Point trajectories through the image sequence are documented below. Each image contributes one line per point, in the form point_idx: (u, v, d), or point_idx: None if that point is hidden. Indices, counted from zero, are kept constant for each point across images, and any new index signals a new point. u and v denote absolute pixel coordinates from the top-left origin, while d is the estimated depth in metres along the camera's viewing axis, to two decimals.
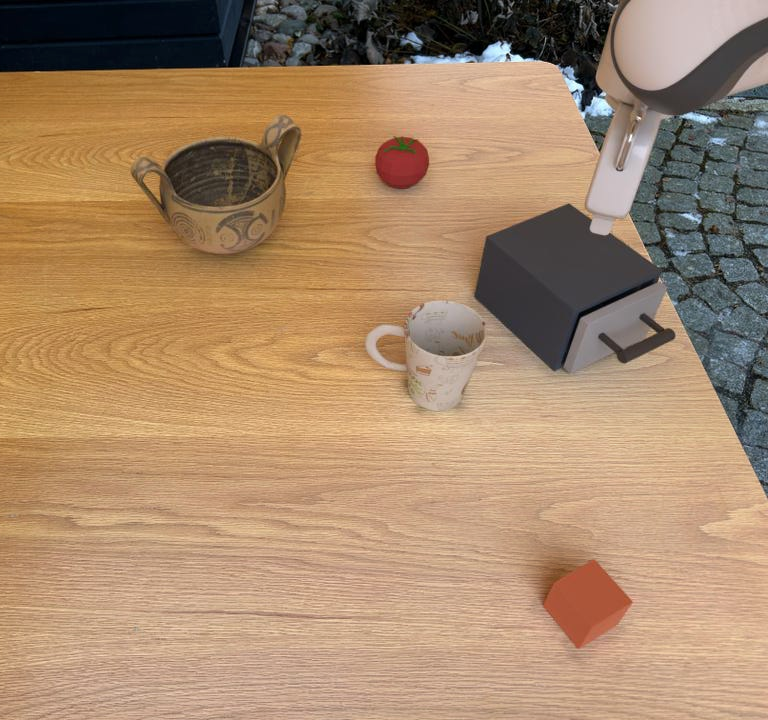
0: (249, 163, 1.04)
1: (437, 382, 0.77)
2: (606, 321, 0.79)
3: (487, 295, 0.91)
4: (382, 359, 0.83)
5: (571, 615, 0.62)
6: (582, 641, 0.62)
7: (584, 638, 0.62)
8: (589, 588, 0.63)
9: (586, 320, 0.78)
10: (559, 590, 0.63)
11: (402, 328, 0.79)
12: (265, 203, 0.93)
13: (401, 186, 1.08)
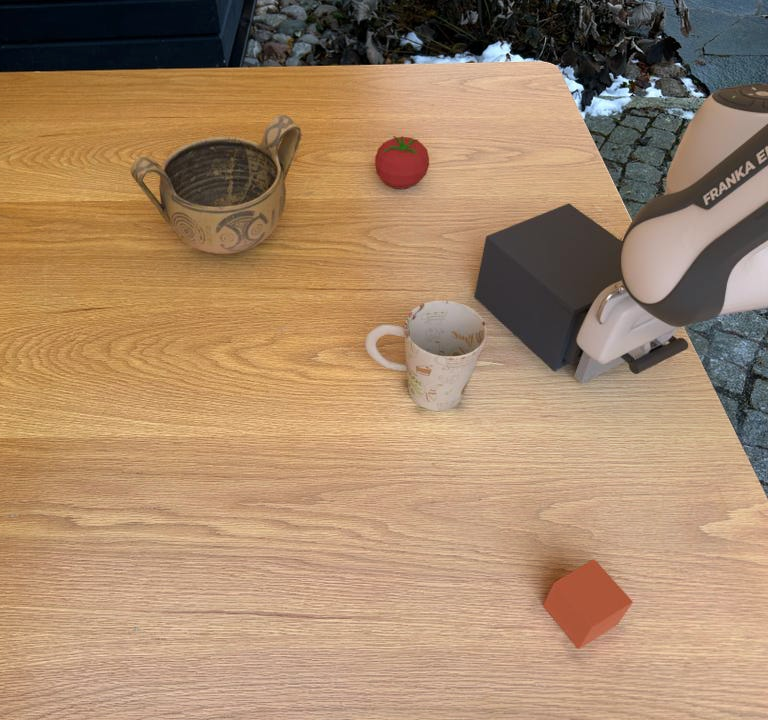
0: (249, 163, 1.04)
1: (437, 382, 0.77)
2: None
3: (487, 295, 0.91)
4: (382, 359, 0.83)
5: (571, 615, 0.62)
6: (582, 641, 0.62)
7: (584, 638, 0.62)
8: (589, 588, 0.63)
9: None
10: (559, 590, 0.63)
11: (402, 328, 0.79)
12: (265, 203, 0.93)
13: (401, 186, 1.08)
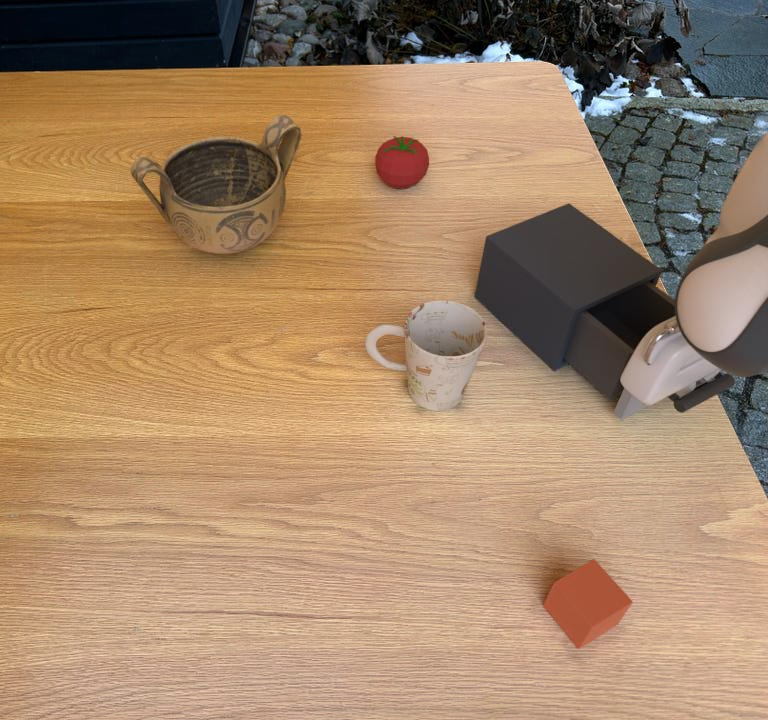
0: (249, 163, 1.04)
1: (437, 382, 0.77)
2: None
3: (487, 295, 0.91)
4: (382, 359, 0.83)
5: (571, 615, 0.62)
6: (582, 641, 0.62)
7: (584, 638, 0.62)
8: (589, 588, 0.63)
9: None
10: (559, 590, 0.63)
11: (402, 328, 0.79)
12: (265, 203, 0.93)
13: (401, 186, 1.08)
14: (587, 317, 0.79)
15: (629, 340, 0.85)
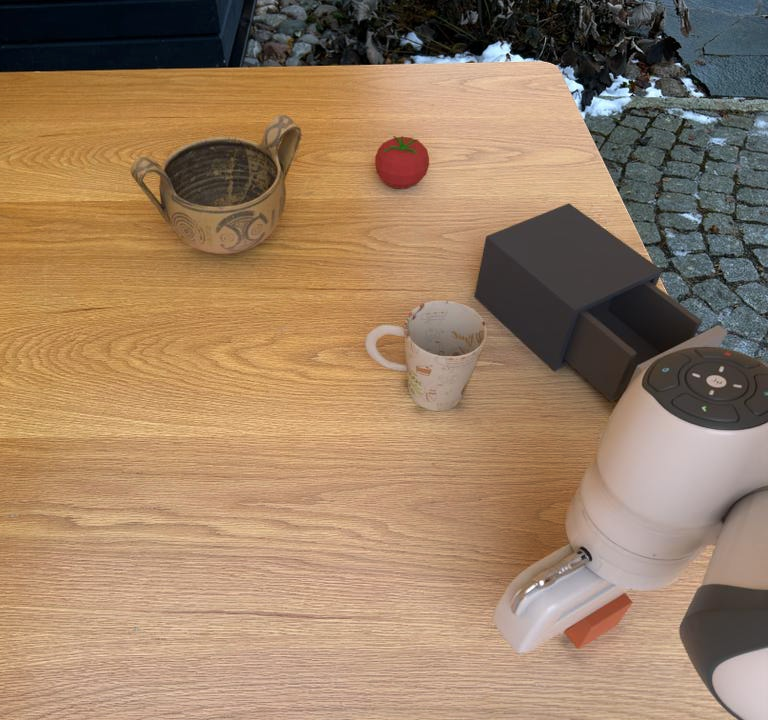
0: (249, 163, 1.04)
1: (437, 382, 0.77)
2: None
3: (487, 295, 0.91)
4: (382, 359, 0.83)
5: None
6: (582, 641, 0.62)
7: (584, 638, 0.62)
8: None
9: (643, 368, 0.73)
10: None
11: (402, 328, 0.79)
12: (265, 203, 0.93)
13: (401, 186, 1.08)
14: (589, 318, 0.79)
15: (631, 341, 0.85)
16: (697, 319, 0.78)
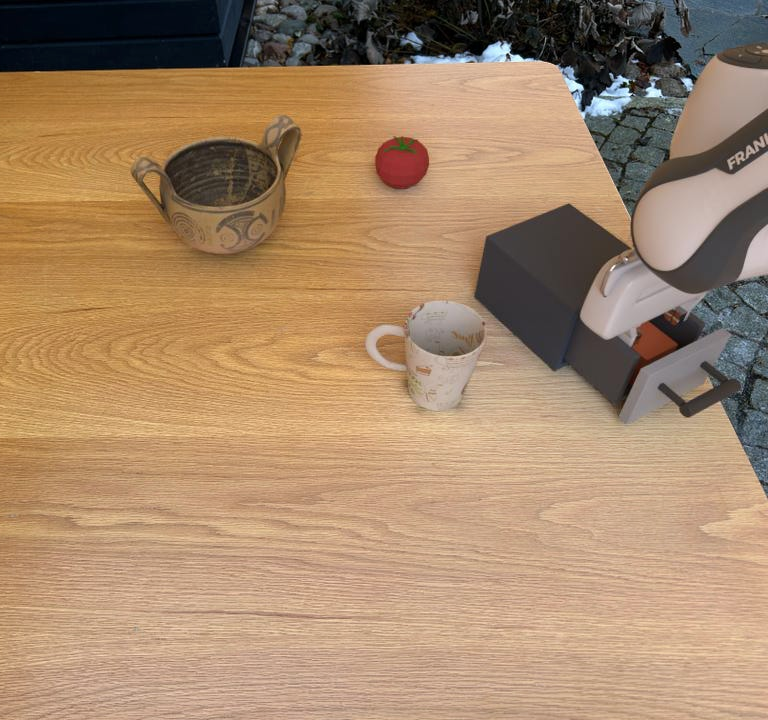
0: (249, 163, 1.04)
1: (437, 382, 0.77)
2: (667, 372, 0.74)
3: (487, 295, 0.91)
4: (382, 359, 0.83)
5: None
6: None
7: None
8: (643, 336, 0.79)
9: (647, 371, 0.73)
10: None
11: (402, 328, 0.79)
12: (265, 203, 0.93)
13: (401, 186, 1.08)
14: None
15: None
16: (701, 322, 0.78)
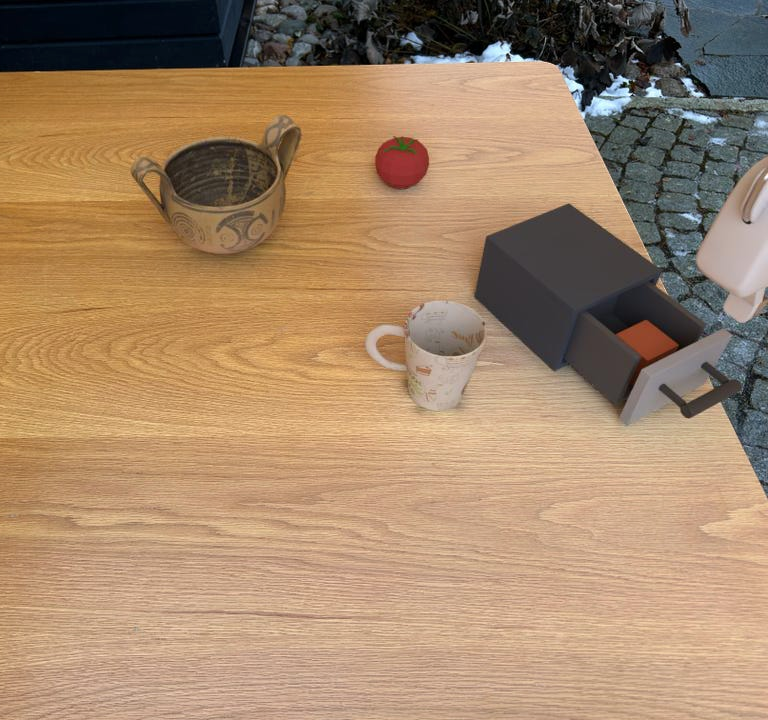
0: (249, 163, 1.04)
1: (437, 382, 0.77)
2: (668, 373, 0.74)
3: (487, 295, 0.91)
4: (382, 359, 0.83)
5: None
6: None
7: None
8: (643, 337, 0.79)
9: (648, 372, 0.73)
10: None
11: (402, 328, 0.79)
12: (265, 203, 0.93)
13: (401, 186, 1.08)
14: (592, 321, 0.78)
15: None
16: (701, 322, 0.77)
